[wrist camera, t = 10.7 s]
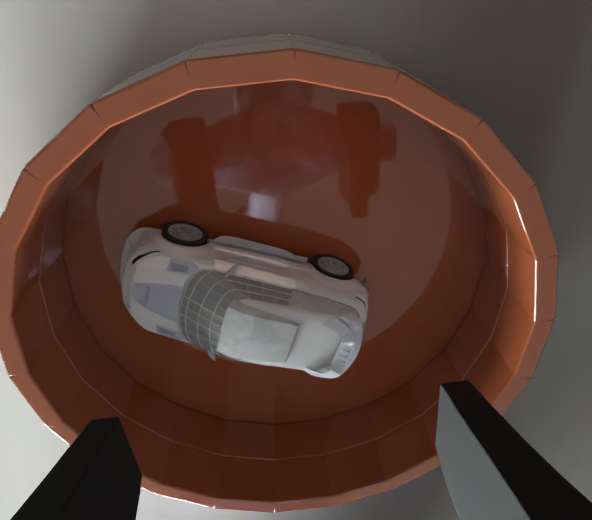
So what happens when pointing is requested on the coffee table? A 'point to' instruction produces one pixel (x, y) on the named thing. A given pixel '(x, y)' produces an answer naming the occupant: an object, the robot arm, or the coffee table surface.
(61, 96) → the coffee table surface
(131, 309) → the toy car
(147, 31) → the coffee table surface
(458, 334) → the bowl
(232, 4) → the coffee table surface
